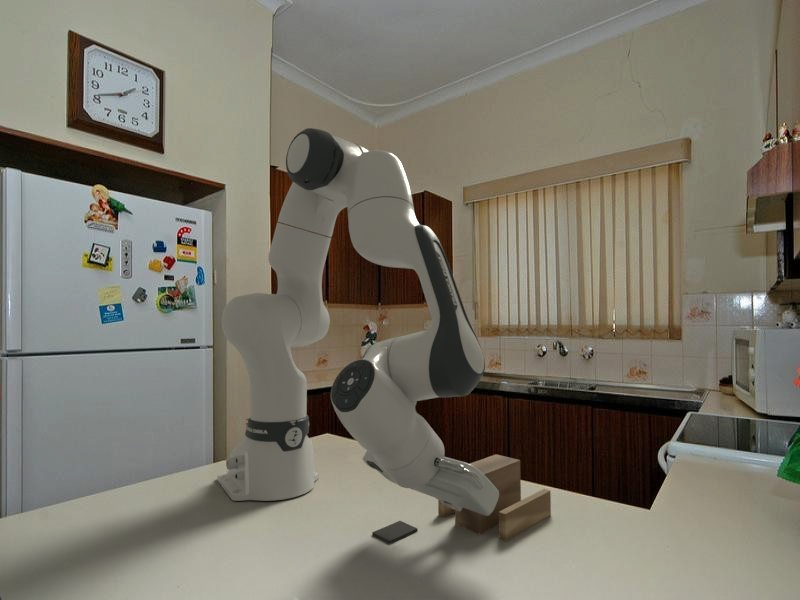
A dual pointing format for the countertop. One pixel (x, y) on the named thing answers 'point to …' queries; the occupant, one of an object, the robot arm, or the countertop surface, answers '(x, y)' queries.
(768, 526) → the countertop surface
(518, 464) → the walnut block
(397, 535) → the mat
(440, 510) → the channel
